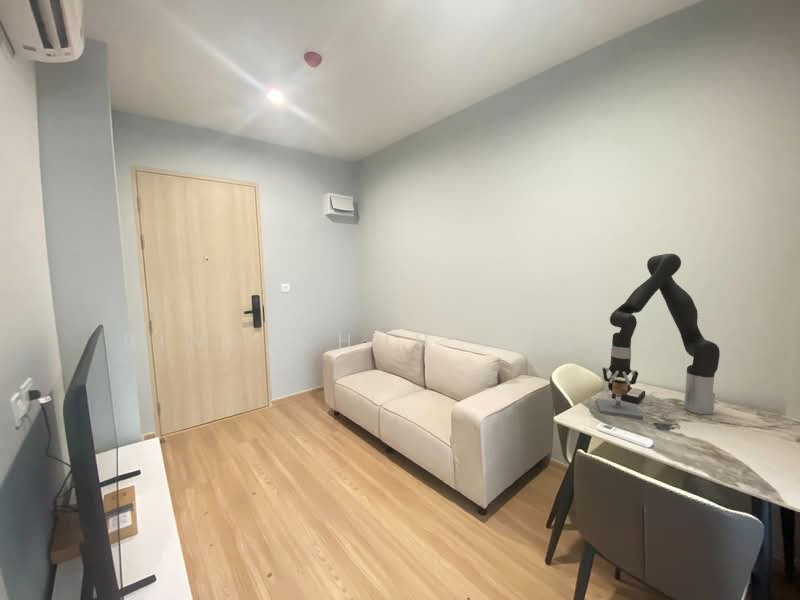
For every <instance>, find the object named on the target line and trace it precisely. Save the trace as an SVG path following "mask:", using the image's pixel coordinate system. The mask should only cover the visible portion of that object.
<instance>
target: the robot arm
mask: <svg viewBox="0 0 800 600" xmlns="http://www.w3.org/2000/svg"><path fill="white" fill-rule="evenodd" d="M646 266H647V267H646V268H647V270H648V272H649V274H650V277H649V278H648V279H647V280H645V281H644V282H643V283H642V284H640V285H638V286H637V288H635V290H633V291H632V293H630V295H629V297H628V298H627V299H626V300H625V302H624V303H623V304H621V305H619V306H618V308H616V309H615V310H614V311H613V312H612V313H611V315H610V317H609V322H610V324H611V325H612V327H613V326H614V327H616V328H620V330H619V332H614V333H613V335H612V340H611V342H612V343H611V344H612V345H611V349H610V364H609V367H605V366H603V367H602V370H601V371H602V376H603V380H604V382H607V388H608V389H609V391H610V392H612V382H613V380H614V379H615V380H616V378H621V379H624V381H626V383H627V384H628V391H627V393H628V392H629V391H630V387H631V385H636V383H637V379H638V376H639V371H638V370H632V369H631V362H632V361H631V360H632V348H631V347H632V338H633V336H634V333H635V330H636V327H637V324H638V322H637V318H636V316H635V315H634V314H636V313H640V312H642V310H643V309H644V308H645V306H646V305H647V304H648V302H649V301H650V299H652V297H653V296H654V294H656V293H657V291H658V290H659V291H660V294H661V295H662V297H663V299H664V301H665V304H666V307H667V308H668V311H669V313H670V315H671V317H672V319H673V322H674V324H675V325H676V328H677V329H678V332H679V335H680V336H681V337H680V338H681V341H682V343H683V346H684V347H683V348H684V350H685V352H686V353H687V354H688V355H689V356H690V357H693V359H692V364H691V365H688V366H687V367H686V376H685V389H684V391H685V392H684V402H683V408H684V409H685V410H686V411H688V412H690V413H695V414H699V415H707V416H708V415H714V408H715V398H716V395H715V393H714V387H715V386H714V385H715V374H716V372H717V371H718V370H719V369H718V368H719V362H720V355H721V354H720V353H721V351H720V348H719V346H718V344H716V343H714V341H713V342H712V341H710V340H707V339H705V337H704V336H703V335H702V333H701V331H700V328H699V326H698V325H699V324H698V319H699V318H698V317H699V316H698V313H699V312H698V309H697V307H696V305H695V301H694V300H693V298H692V296H691V295H690V294H689V293H688V292H687V291H686V290H684V289H683V288H682V287H681V286H680V285H679V284H678V283H677V282H676V281H675V280H674V278H673V276H674V275H675V274H676V272H678V270H679V269H680V268H681V266H682V260H681V257H680V256H679V255H678V254H675V253H664V254H663V253H662V254H657V255H654V256H651V257H650V258H649V259H648V260H647V264H646ZM609 371H610V373H611V374H610V376H609V378H608V373H609ZM630 374H631V376H632V377H631V379H629V378H628V377H629V375H630Z"/></svg>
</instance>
